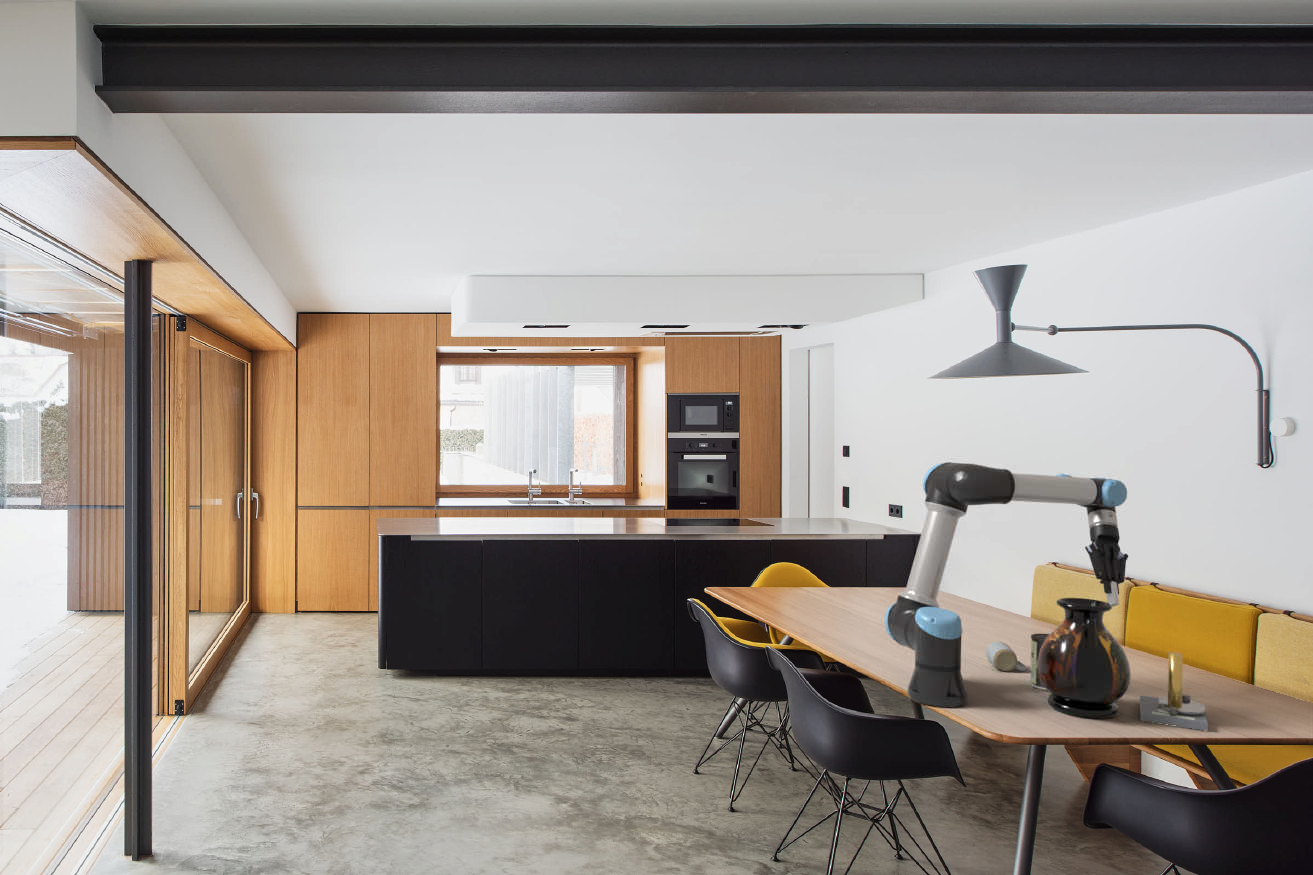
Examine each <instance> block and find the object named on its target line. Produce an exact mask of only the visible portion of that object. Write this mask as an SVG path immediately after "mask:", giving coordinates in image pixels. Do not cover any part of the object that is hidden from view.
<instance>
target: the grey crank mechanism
mask: <svg viewBox="0 0 1313 875" xmlns="http://www.w3.org/2000/svg"><path fill="white" fill-rule="evenodd" d="M1159 698H1160V697H1156V696H1155V697H1154V696H1148V695H1143V694H1142V695H1141V694H1139V717H1140V718H1139V719H1140V720H1142V721H1141V722H1144V721H1148V722H1147V723H1150V722H1154V723H1153V724H1156V723H1161V724H1160V725H1163V724H1168V725H1167V726H1169V725H1176V726H1181V727H1180V728H1182V727H1185V728H1184V729H1188V728H1192V729H1191V730H1194V729H1199V730H1198V731H1201V730H1207V731H1208V730H1209V723H1208V719H1207V716H1206V713H1205V714H1204V715H1184V714H1178V712H1177V710H1176V709H1174V708H1171V709H1170V710H1169V711H1167V710H1164V709H1162V708H1160V707H1159ZM1207 731H1206V732H1207ZM1208 732H1209V731H1208Z"/></svg>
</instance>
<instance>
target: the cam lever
mask: <svg viewBox="0 0 1313 875" xmlns="http://www.w3.org/2000/svg"><path fill="white" fill-rule="evenodd" d="M1183 655H1184V654H1183V653H1180V652H1175V651H1174V652H1173V651H1169V652H1168V660H1167V661H1168V664H1167V665H1168V666H1167V668H1168V669H1167V670H1168V672H1167V679H1168V680H1167V696H1162V697H1158V698H1159V707H1160V708H1162V709H1164V710H1167V711H1169V710H1170V709H1171V708H1174V709H1176V710H1177V712H1178V714H1184V715H1204V714H1205V715H1206V705H1205V704H1204V703H1202V702H1199V701H1197V700H1194V699H1191V695H1189V694H1185V693H1184V694H1183V664H1184V663H1183V661H1184V659H1183V658H1184V657H1183Z"/></svg>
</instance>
